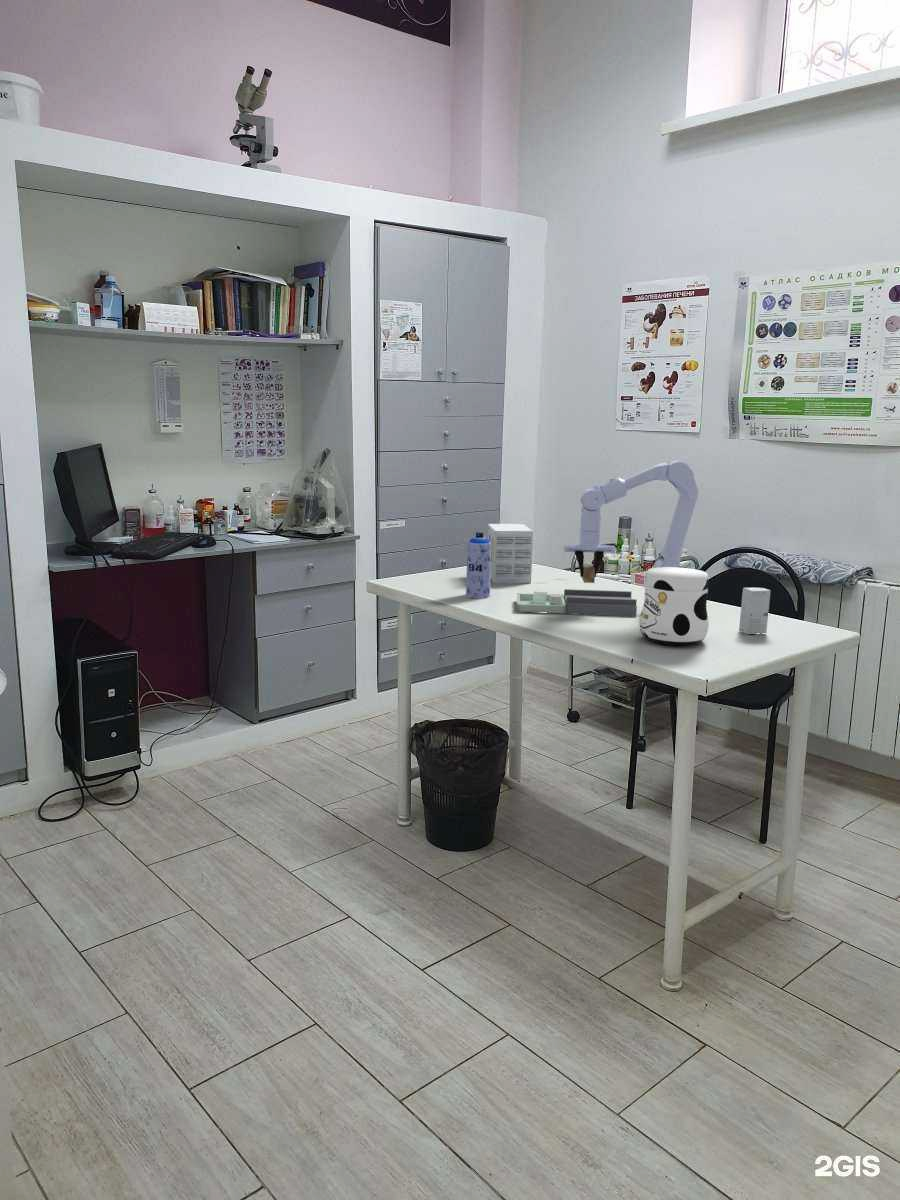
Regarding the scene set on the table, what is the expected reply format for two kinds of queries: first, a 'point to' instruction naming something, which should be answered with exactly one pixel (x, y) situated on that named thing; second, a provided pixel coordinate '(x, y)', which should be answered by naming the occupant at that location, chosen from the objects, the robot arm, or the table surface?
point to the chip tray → (527, 604)
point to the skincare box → (754, 610)
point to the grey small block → (540, 598)
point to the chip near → (554, 599)
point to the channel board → (600, 602)
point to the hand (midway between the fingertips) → (588, 576)
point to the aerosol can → (478, 567)
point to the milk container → (675, 606)
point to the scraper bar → (588, 573)
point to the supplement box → (510, 553)
